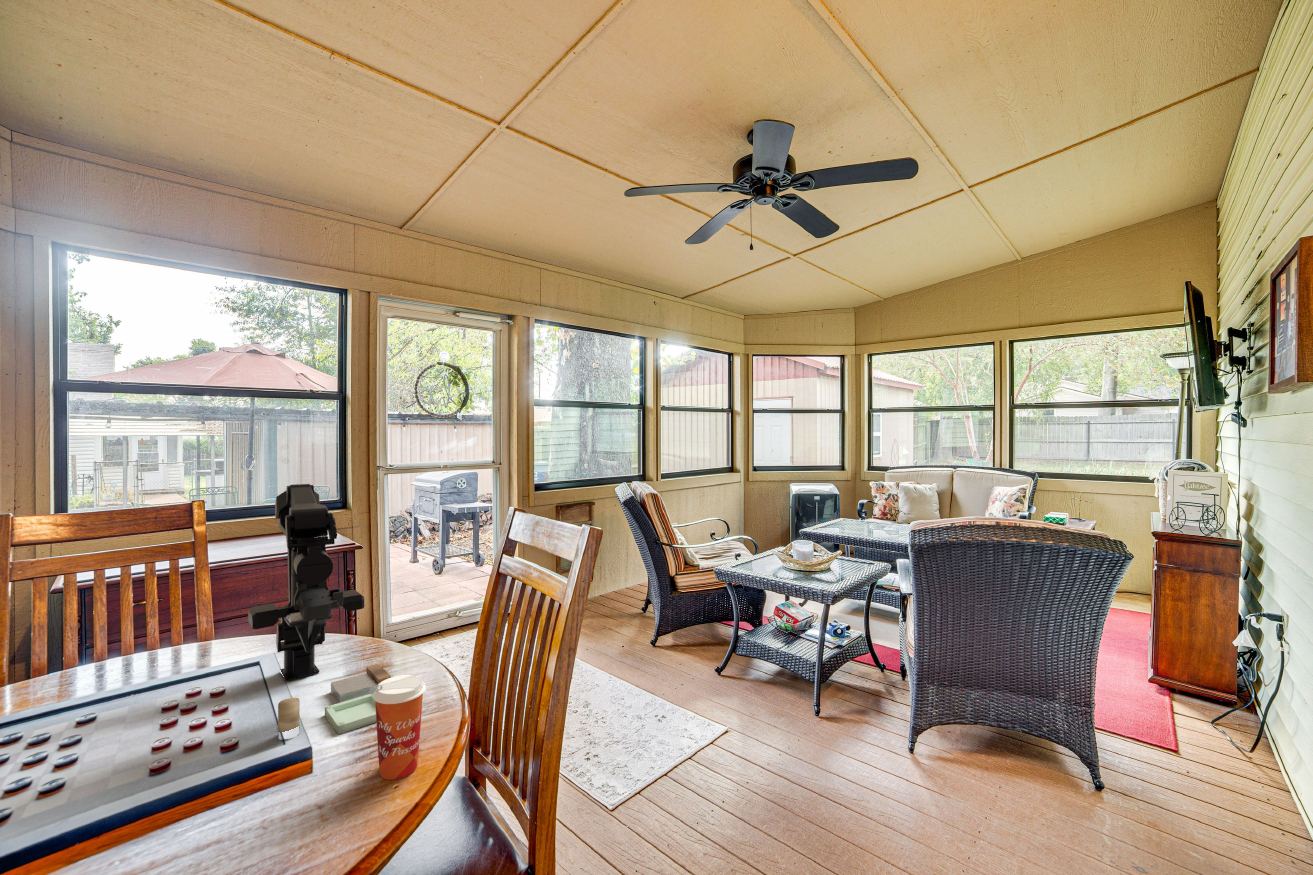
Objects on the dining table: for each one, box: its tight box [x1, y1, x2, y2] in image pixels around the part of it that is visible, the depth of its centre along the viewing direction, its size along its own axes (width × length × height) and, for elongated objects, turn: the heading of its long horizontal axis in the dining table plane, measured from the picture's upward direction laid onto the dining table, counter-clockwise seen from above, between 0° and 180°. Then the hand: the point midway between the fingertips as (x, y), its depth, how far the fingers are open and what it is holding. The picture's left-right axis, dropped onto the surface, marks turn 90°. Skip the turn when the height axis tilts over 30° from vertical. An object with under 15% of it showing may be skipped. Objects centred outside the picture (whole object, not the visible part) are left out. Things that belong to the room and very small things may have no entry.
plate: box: [330, 672, 378, 704], centre depth 116 cm, size 7×7×2 cm
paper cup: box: [373, 674, 427, 781], centre depth 91 cm, size 8×8×14 cm
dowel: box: [277, 697, 301, 733], centre depth 100 cm, size 3×3×6 cm
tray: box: [324, 693, 376, 735], centre depth 107 cm, size 9×9×2 cm
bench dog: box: [366, 663, 392, 684], centre depth 120 cm, size 8×2×3 cm, turn 44°
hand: (308, 651), depth 110 cm, fingers closed
